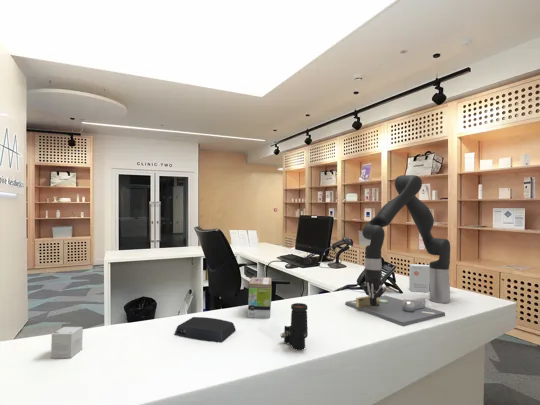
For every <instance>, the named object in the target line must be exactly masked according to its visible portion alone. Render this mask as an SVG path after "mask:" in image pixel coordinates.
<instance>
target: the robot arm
mask: <svg viewBox="0 0 540 405" xmlns="http://www.w3.org/2000/svg"><path fill="white" fill-rule="evenodd" d="M394 186H395V191H396V192H397V194H398V195H397V196H395V197H394V198H392V199H391V200H390V201H388V202H386V203H385V204H383V206H382V208H381V209H380V210H379V211H378V212H377V214H376V215H375V217H373V218H371V220H370V221H368V222H367V223H366V224H365V225H364V227H363V228H362V237H363V238H364V239H366V240H370V243H369V245H366V246H365V251H364V253H365V259H364V278H365V281H364V282H361V284H360V285H361V287H362V289H363V291H364V293H365V295H366V296H369V297H370V305H371V306H376V305H377V298H378V297H381V296H383V295H384V293H385V292H386V290H387V289H386V287H384V286H382V285H383V283H382V278H383V276H382V275H383V273H382V272H383V271H382V270H383V264H382V249H383V248H382V247H383V245H384V242H385V241H384V240H385V236H386V235H385V229H384V227H385V228H386V227H388V226H389V225H390V224H391V222H392V221H393V220H394V218H395V217H396V216H397V215H398V213H399V212H400V211H401V210H402V209H403V208H404V206H406V208H407V210H408V212H409V214H410V216H411V218H412V220H413V222H414V225H415V226H416V227H417V228H416V229H418V232H419V234H420V237H421V240H422V242H423V245H424V248H425V250H426V252H427V253H428V254H429V255H433V256H438V259H436V260H434V261H430V262H429V264H428V265H429V267H430V268H429V272H430V293H429V300H430V301H431V302H433V303H434V302H435V303H440V304H449V303H450V302H451V284H450V264H451V243H450V240H449V239H447V238H440V237H439V238H438V237H434V236H433V234H432V232H431V231H432V228H433V227H434V223H435V218H434V215H433V213H432V211H431V210H430V208H429V207H428V206H427V205H426V204H425V203H424V202H423V201H422V200H420V198H418V197H417V196H416V195H417V194H418V193H419V192H420V190H421V189H422V186H423V181H422V178H421V177H420V176H418V175H415V174H414V175H413V174H406V175H405V174H402V175H399V176H397V177H396V178H395V180H394Z"/></svg>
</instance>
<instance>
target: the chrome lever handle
mask: <svg viewBox="0 0 540 405" xmlns="http://www.w3.org/2000/svg"><path fill="white" fill-rule="evenodd" d="M402 300H403V310H404V311H408V312H414V311H415V310H416V309H420V308H425V307H426V298H423V297H421V298H415V299H411V300H410V299H402Z"/></svg>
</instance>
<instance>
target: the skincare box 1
mask: <svg viewBox="0 0 540 405" xmlns="http://www.w3.org/2000/svg"><path fill="white" fill-rule="evenodd" d="M83 331H84V328H83V326H62V327H61V328H60V329H58V330H56V331H54V332H52V333H51V346H50V348H51V349H50V351H51V352H50V359H72V358H73V357H74V356H75V355H77V354H78V353H79V352H81V351H82V350H83Z"/></svg>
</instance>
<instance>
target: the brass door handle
mask: <svg viewBox="0 0 540 405" xmlns="http://www.w3.org/2000/svg"><path fill="white" fill-rule="evenodd" d="M355 300H356V307H358V308H359V307H364V306H370V297H369V296H368V295H366V296H359V297H356V298H355ZM378 305H379V297H378V298H377V305H376V306H378Z"/></svg>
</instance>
